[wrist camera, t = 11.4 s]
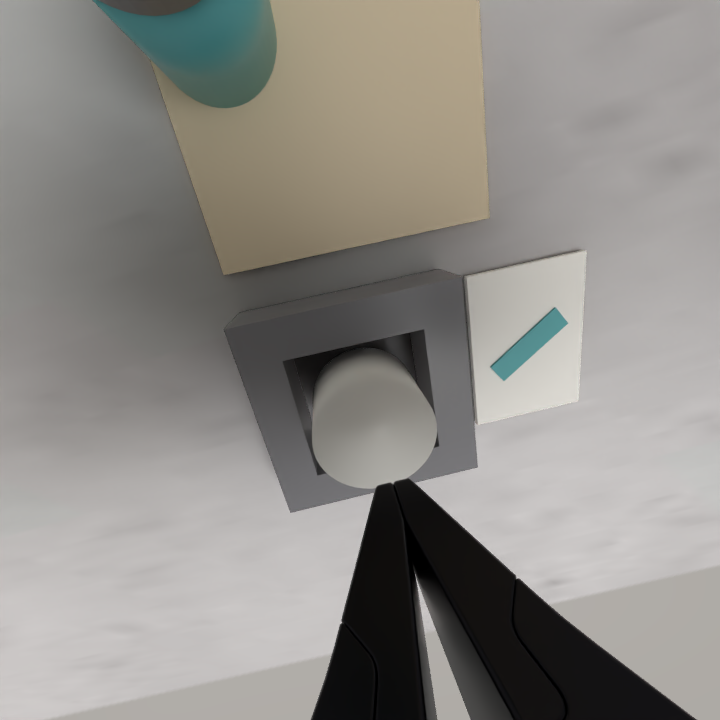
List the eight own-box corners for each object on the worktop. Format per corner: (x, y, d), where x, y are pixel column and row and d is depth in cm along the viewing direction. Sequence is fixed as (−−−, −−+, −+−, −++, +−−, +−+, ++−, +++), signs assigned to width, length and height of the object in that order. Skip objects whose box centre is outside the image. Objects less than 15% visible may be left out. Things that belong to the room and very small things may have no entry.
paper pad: (450, -433, 8) (457, -466, 7) (484, 218, 13) (489, 218, 13) (8, -369, 7) (-8, -400, 7) (226, 274, 13) (223, 275, 12)
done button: (405, 337, 13) (429, 367, 10) (418, 425, 14) (443, 472, 12) (301, 360, 13) (297, 397, 10) (326, 447, 14) (328, 500, 11)
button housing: (438, 268, 13) (462, 276, 11) (456, 435, 16) (477, 467, 14) (239, 312, 13) (223, 329, 11) (294, 473, 16) (290, 512, 14)
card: (581, 250, 14) (588, 250, 13) (574, 398, 16) (580, 402, 16) (463, 276, 14) (467, 277, 13) (475, 421, 16) (478, 426, 16)
